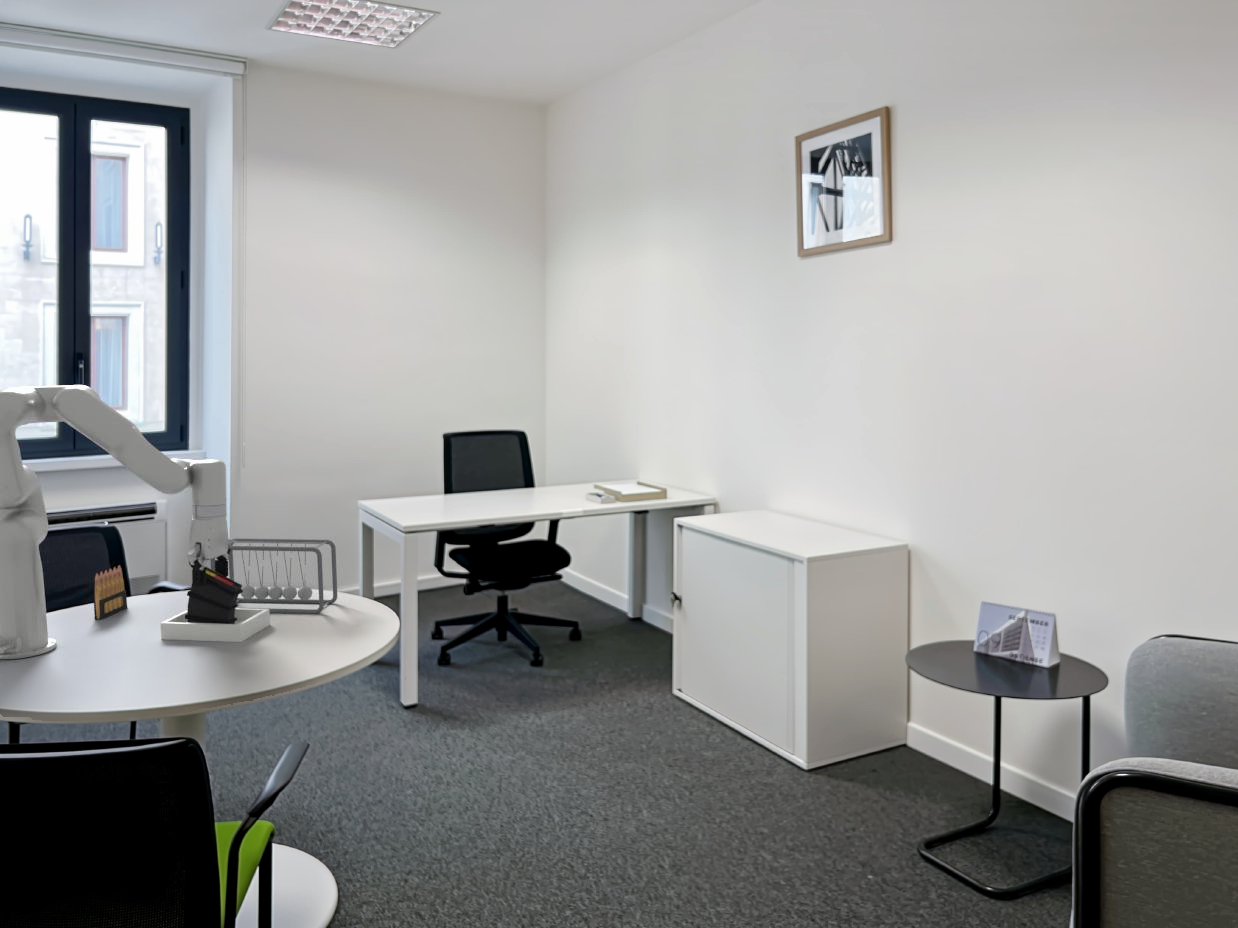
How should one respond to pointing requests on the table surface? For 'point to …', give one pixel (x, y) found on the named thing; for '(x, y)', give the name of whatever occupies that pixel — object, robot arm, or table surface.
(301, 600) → the newton's cradle
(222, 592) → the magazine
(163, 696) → the table surface
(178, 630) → the parts tray
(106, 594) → the ammunition clip
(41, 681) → the table surface
